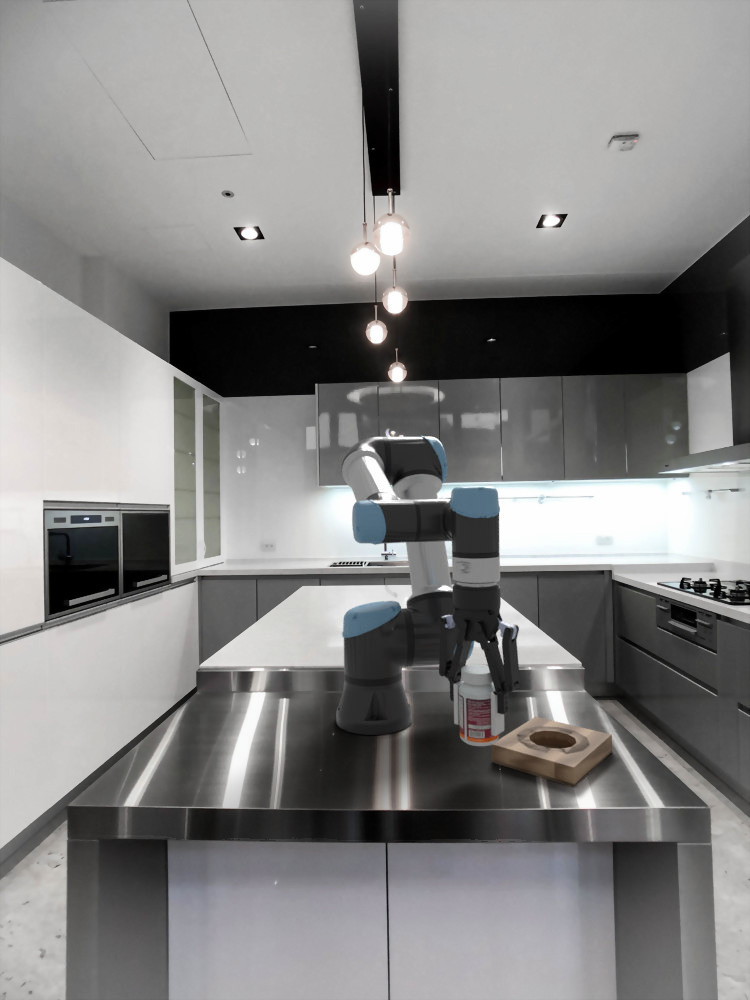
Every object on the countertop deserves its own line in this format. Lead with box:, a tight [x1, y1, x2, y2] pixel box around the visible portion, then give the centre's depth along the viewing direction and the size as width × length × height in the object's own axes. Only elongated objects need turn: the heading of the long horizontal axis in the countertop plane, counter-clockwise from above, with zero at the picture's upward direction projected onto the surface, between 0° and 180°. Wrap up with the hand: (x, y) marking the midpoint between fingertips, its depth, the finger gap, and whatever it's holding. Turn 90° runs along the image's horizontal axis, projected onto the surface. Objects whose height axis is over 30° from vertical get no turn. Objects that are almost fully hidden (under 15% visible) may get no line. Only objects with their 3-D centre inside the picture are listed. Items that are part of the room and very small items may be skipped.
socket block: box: [491, 716, 613, 788], centre depth 97 cm, size 14×16×3 cm
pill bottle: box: [459, 663, 500, 747], centre depth 92 cm, size 6×6×11 cm
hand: (478, 726), depth 92 cm, fingers closed on pill bottle, 6 cm apart
